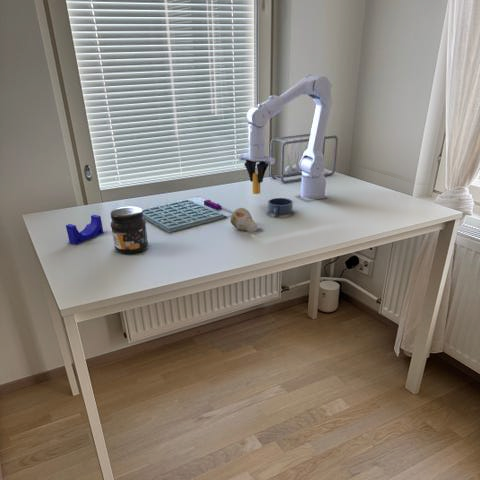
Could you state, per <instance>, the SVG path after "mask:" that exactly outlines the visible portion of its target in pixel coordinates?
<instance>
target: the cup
mask: <svg viewBox="0 0 480 480" xmlns="http://www.w3.org/2000/svg"><path fill="white" fill-rule="evenodd" d="M293 209H294V201H293V200H292V199H290V198H285V197H276V198H271V199H269V200H267V213H269V214H271V215H274V218H278V216H287V215H290V214H292V213H293V211H294V210H293Z"/></svg>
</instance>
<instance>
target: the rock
mask: <svg viewBox="0 0 480 480" xmlns="http://www.w3.org/2000/svg"><path fill="white" fill-rule="evenodd" d="M230 224H231V225H232V226H233V227H234V228H235V229H238V230H243V231H246V232H247V233H248V234H252V233H254V232H257V231H258V230H260V228H259V225H258V223H257V222H255V220H254V219H253V217H252V214H251V212H250V211H249V209H247V208H244V207H239V208H237V209H235V210H234V211H233V212H232V214H231V215H230Z"/></svg>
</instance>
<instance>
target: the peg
mask: <svg viewBox="0 0 480 480" xmlns="http://www.w3.org/2000/svg"><path fill="white" fill-rule="evenodd" d="M252 194H254V195H260V194H261V183H258V171H255V172H254V173H253V182H252Z"/></svg>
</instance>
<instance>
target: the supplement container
mask: <svg viewBox="0 0 480 480" xmlns="http://www.w3.org/2000/svg"><path fill="white" fill-rule="evenodd" d="M142 209H143V208H141V207H137V206H124V207H123V206H121V207H118V208H115V209H113V210H111V211H110V219H111V222H110V228H111V233H112V238H113V246H114V249H115V251H116V252H118V253H120V254H125V255H132V254H138V253H141V252H144V251H145V250H146V249H148V247H149V239H148V232H147V226H146V225H147V222H146V221H147V220H146V219H145V218H143V211H142Z"/></svg>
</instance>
